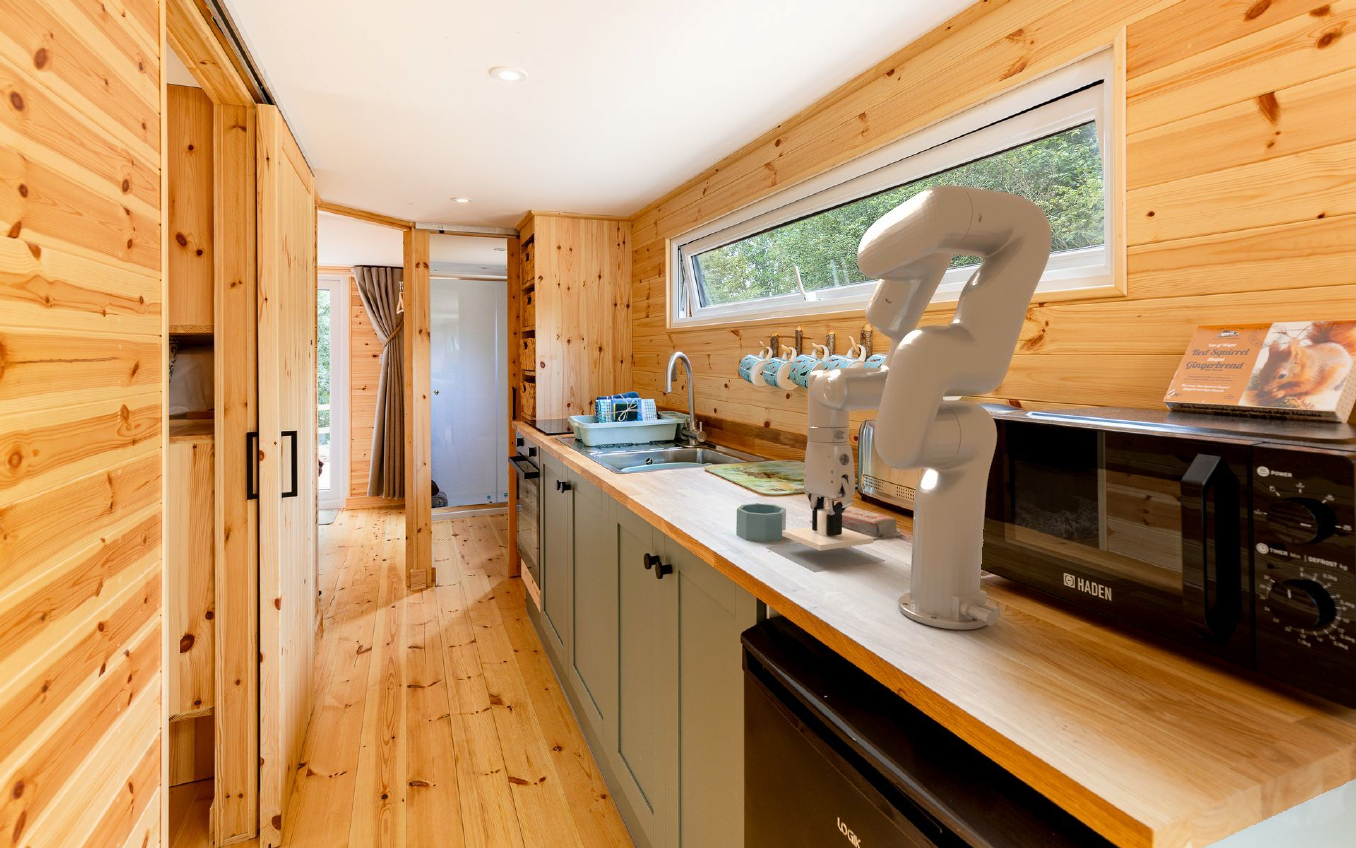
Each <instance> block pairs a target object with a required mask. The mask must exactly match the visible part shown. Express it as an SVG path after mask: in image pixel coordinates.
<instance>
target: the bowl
mask: <svg viewBox="0 0 1356 848" xmlns="http://www.w3.org/2000/svg"><path fill="white" fill-rule="evenodd" d="M786 524H787V508H786V507H785V508H784V507H782V506H780V505H776V504H769V503H747V504H741V505H739V506H738V507H737V508H736V536H737V537H739V538H741V539H743V540H745V541H750V542H758V543H759V542H760V543H768V542H776V541H778V542H779V541H782V540H783V539H784V536H782V531H783V530H787V529H786V528H787V525H786Z"/></svg>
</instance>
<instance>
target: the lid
mask: <svg viewBox="0 0 1356 848" xmlns="http://www.w3.org/2000/svg"><path fill="white" fill-rule="evenodd" d="M827 514H829V509H818V510H817V531H813V530H812V526H808V527H802V528H801V527H800V528H793V529H786V530H783V531H782V536H784V537H785V538H787V539H790V540H792V541H794V542H796V543H802V544H805V545H807V546H810V547H812V548H815V549H817V550H820V551H822V550H829V549H836V548H843V547H850V546H851V547H855V546H864V545H870V544H874V541H875V540H874V538H873V537H870V536H867V535H863V534H860V533H857V532H854V531H851V530H848V529H845V528H842V534H841V535H835V536H828V535H827V534H826V516H827Z"/></svg>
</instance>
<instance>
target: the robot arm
mask: <svg viewBox="0 0 1356 848" xmlns="http://www.w3.org/2000/svg"><path fill="white" fill-rule="evenodd" d="M1052 235H1053V234H1052V230H1051V225H1050V222H1049V219H1048V217H1047V216H1046V213H1045V212H1044V211H1043V209H1041V208H1040V206H1038V205H1037V204H1035V203H1034V202H1032V201H1031V200H1029V199H1027V198H1025V197H1023V196H1020V195H1017V194H1013V193H1009V192H1005V191H1004V192H1003V191H998V190H991V189H982V188H975V187H974V188H973V187H967V186H966V187H965V186H959V185H950V184H944V185H943V184H942V185H936V186H932V187H929V188H926V189H924V190H923V191H921V192H918V193H917V194H916V195H913V196H912V197H911V198H908V200H906V201H904V202H903V203H902V204H900V205H898V206H896V207H895V208H893V209H891V210H890V211H889V212H887V213H886V214H885V215H883V216H881V217H880V218H879V219H878V220H876V221H874V223H873V224H872V225H871V226H870V227H869V228H868V229H867V231H866V232H864V234H863V236H862V238H861V239H860V243H859V245H858V247H857V254H856V261H857V262H856V263H857V266H858V269H859V270H860V273H862V274H863V275H864V276H865V277H866V278H869V279H873V280H878V281H877V284H876V285H875V287H874V289H873V292H872V294H871V296H870V298H869V300H868V301H867V304H866V306H865V308H864V317H865V319H866V321H867V322H868V324H869V325H870V326H871V327H872V328H873V329H875V330H876V331H877V332H880V334H882V335H885V336H886V337H888V338H890V346H889V350H888V352H887V354H886V356H885V358H884V359H883V361H882V364H881V365H880V367H841V368H834V369H818V370H817V369H816V370H812V371H811V372H810V373H809V375H808V378H807V379H808V381H807V443H806V449H805V457H804V466H803V467H804V469H803V493H804V494H805V495H806V497H807V499H808V501H809V503H810V504H809V507H810V509H811V514H812V516H811V521H812V523H811V527H812V530H813V531H817V510H818V509H824V508H825V507H827V506H828V509H829V514H827V516H826V534H827V535H828V536H835V535H841V534H842V514H844V513H845V509H846V508H847V506H851V505H852V504H853V503H854V498H853V497H854V496H855V494H856V492H855V491H856V480H855V479H856V476H855V461H854V455H853V449H852V445H851V444H849V441H850V439H849V438H850V427H849V426H850V412H858V411H877V416H876V420H875V424H874V430H873V431H874V432H873V434H874V435H873V437H874V447H875V450H876V453H877V454H878V456H879V458H880V460H881V461H882V462H883V463H884V464H885V465H887V466H889V467H891V468H893V469H896V470H902V471H911V470H913V471H914V470H923V471H922V472H921V474H920V477H919V478H918V481H917V484H916V487H915V493H914V499H913V500H914V501H913V503H914V504H913V522H912V525H913V527H912V541H911V542H912V543H911V544H912V545H911V566H910V568H911V569H910V583H909V584H910V587H909V588H910V589H909V592H906V593H903V594H902V595H901V596H900V597H899V599H898V606H897V607H898V609H899V611H900V612H901V613H902V614H903V615H904V616H906V617H907V618H909V619H910V620H913V621H915V622H917V623H920V624H924V625H928V626H931V627H935V628H940V629H947V630H961V631H962V630H963V631H964V630H965V631H966V630H975V629H979V628H983V627H985V626H989V627H990V626H991V627H992V626H993V625H995V623H996V621H997V618H999V616H1000V614H1001V609H1000V608H999V607H997V606H994V605H991V604H988V603H987V591H985V590H983V589H981V581H982V580H981V578H982V577H981V576H982V572H981V564H982V547H983V529H984V526H985V515H986V514H985V512H986V511H985V510H986V498H987V488H988V480H989V473H990V469H991V465H992V462H993V458H994V454H995V450H996V446H997V441H998V439H997V438H998V431H997V426H996V425H997V424H996V422H995V420H994V418H993V416H992V415H991V413H990V412H989V411H988V410H987V409H986V408H984V407H983V406H981V405H980V404H978V403H975V402H972V401H967V400H957V399H953V400H952V399H951V400H950V399H949V400H947V399H946V400H945V399H944V400H943V398H944V397H972V396H973V397H975V396H983V395H987V394H990V393H993V392H995V391H996V390H997V389H998V388H999V387H1001V386H1002V384H1003V382H1004V380H1005V378H1006V376H1007V373H1008V370H1009V368H1010V364H1011V361H1012V359H1013V356H1014V353H1015V350H1016V347H1017V345H1018V344H1017V343H1018V340H1019V338H1020V334H1021V332H1022V329H1023V325H1024V323H1025V320H1026V316H1027V312H1028V310H1029V306H1030V303H1031V301H1032V298H1033V296H1034V294H1035V291H1036V289H1037V286H1038V284H1039V282H1040V280H1041V279H1042V277H1043V273H1044V271H1045V269H1046V267H1047V264H1048V261H1049V258H1050V254H1051V249H1052V242H1053V237H1052ZM954 255H955V256H970V257H980V258H982V259H983V263H982V264H981V265H980V266H979V267H978V268H977V269H976V270H975V271H974V273H973V274H972V275H971V276H970V278H969V279H968V280H967V282H966V283H965V285H964V286H963V289H962V290H961V292H960V296H959V298H958V302H957V306H956V310H955V312H954V314H953V318H952V320H951V322H950V323H949V324H948V325H939V324H937V325H931V324H930V325H924V326H920V327H917V326H918V325H919V322H920V321H921V319H922V317H923V315H924V314H925V312H926V309H927V307H928V306H929V304H930V302H931V300H932V298H933V296H934V295H935V293H936V291H937V289H938V287H939V285H940V284H941V282H942V279H943V278H944V277H945V274H946V272H947V270H948V268H949V267H950V265H951V263H952V260H953V258H954ZM834 503H836V504H835V505H834ZM984 530H985V529H984Z"/></svg>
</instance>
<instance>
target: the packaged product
mask: <svg viewBox="0 0 1356 848" xmlns="http://www.w3.org/2000/svg"><path fill="white" fill-rule="evenodd" d="M836 503H837V502H834V505H835V504H836ZM824 509H828V505H826V506H825V508H824ZM809 523H811V524H812V519H810V520H809ZM897 524H898V522H897V518H895V517H892V516H889V515H885V514H882V513H878V512H874V511H870V510H866V509H862V508H857V507H854V506H851V505H849V506H847V508H846V509H845V513H844V514H842V528H845V529H848V530H851V531H854V532H857V533H860V534H863V535H867V536H870V537H873V538H874V541H878V540H881V539H886V538H890V537H893V538H896V537H901V536H902V529H898V528H897ZM900 535H901V536H900Z"/></svg>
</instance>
